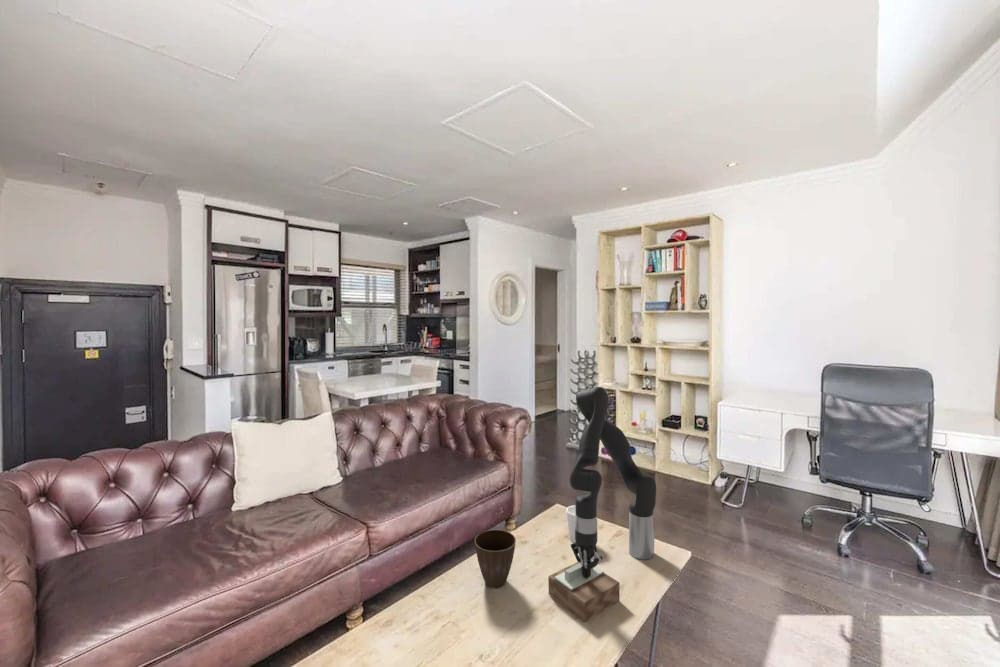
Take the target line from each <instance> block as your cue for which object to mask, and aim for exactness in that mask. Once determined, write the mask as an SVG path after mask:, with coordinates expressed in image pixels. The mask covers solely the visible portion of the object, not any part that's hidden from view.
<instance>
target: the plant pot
mask: <svg viewBox="0 0 1000 667" xmlns="http://www.w3.org/2000/svg"><path fill="white" fill-rule="evenodd" d="M516 542H517V539H516V537H515V536H514V535H513V533H511V532H509V531H508V530H503V529H488V530H484V531H482V532H480V533H479V534H477V535H476V536H475V537H474V545H475V553H476V556H477V561H478V562H477V563H478V566H479V571H480V572H481V575H482V578H483V580H484V584H485V585H486V586H487V587H488V588H490V589H501V588H502V587H503V586H505V585H506V582H507V581H508V580H507V579H508V577H509V574H510V571H511V569H512V568H511V567H512V564H513V559H514V555H515V550H516V549H515V548H516Z"/></svg>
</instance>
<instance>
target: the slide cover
mask: <svg viewBox="0 0 1000 667" xmlns="http://www.w3.org/2000/svg"><path fill="white" fill-rule="evenodd" d="M593 561H594V560H592V562H593ZM603 573H605V571H604V570H603V569H601V568H599V567H598V566H596V567H594V568H592V569H591V576H590V577H588V578H584V577H583V576H582V566H581V563H579V564H577V565H575V566H573V567H571V568H569V569H567V570H565V572H563V573H561V574H559V575H557V576H555V579H556V580H557V581H559V582H560V583H561V584H563V585H564V586H566V587H567V588H568V589H570V590H573V589H575V588H577V587H579V586H580V585H582V584H584V583H586V582H588V581H590V580H592V579H594V578H595V577H597V576H599V575H601V574H603Z"/></svg>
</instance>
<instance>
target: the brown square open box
mask: <svg viewBox="0 0 1000 667" xmlns="http://www.w3.org/2000/svg"><path fill="white" fill-rule="evenodd" d="M579 563H580V562H578V561H577V562H574V563H573V564H570V565H568V566H566V567H564V568H562V569H560V570H557V571H556V572H554V573H552V574H550V575H548V595H549V596H550V597H552V599H554V600H556V602H558V603H560V604H561V605H562V606H563V607H564V608H566V609H567V610H568V611H570V613H572V614H573V615H574V616H576V618H578V619H580V620H581V621H582V622H583V623H586V622H588V621H589V620H591V619H592V618H594V617H596V616H597V615H598V614H600V613H602V612H604V611H605V610H607V609H609V608H610V607H612V606H614V605H616V604H617V603H619V602H620V582H619V581H618V580H616V579H615V578H613V577H611V576H610V575H608V574H607V573H605V572H604V573H603V574H601V575H599V576H597V577H595V578H594V579H592V580H590V581H588V582H586V583H584V584H582V585H580V586H579V587H577V588H575V589H573V590H570V589H568V588H567V587H566V586H564V585H563V584H561V583H560V582H559V581H557V580H556V579H555V576H557V575H559V574H561V573H563V572H565V570H567V569H569V568H571V567H573V566H575V565H577V564H579Z"/></svg>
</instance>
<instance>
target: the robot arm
mask: <svg viewBox="0 0 1000 667" xmlns="http://www.w3.org/2000/svg"><path fill="white" fill-rule="evenodd" d="M575 401H576V404H577V407H578V409H579V411H580V412H581V414H582V416H583V417H584V418H585V419H586V420H587V422H588V424H587V426H586V428H585V429H584V431H583V433H582V434H581V436H580V439H579V443H578V452H577V458H576V461H575V464H574V466H573V468H572V470H571V472H570V474H569V475H570V476H569V484H570V486H571V488H572V489H573V490H575V491H580V492H581V491H583V492H589V493H587V494H581V495H578V496H577V497H576V498H575V506H576V507H575V508H576V515H575V541H576V542H575V543H573V542H572V543H570V547H571V549H572V550H571V551H572V552H573V555H574V556H575V559H576V561H577V562H580V563H581V566H582V576H583V577H584V578H588V577H590V576H591V569H592V568H594V567H598V565H599V564H600V562H602V560H603V557H602V555H599V553H598V549H597V543H598V518H597V516H598V515H597V505H598V503H597V502H598V497H599V493H600V490H601V486H602V483H603V478H602V477H603V476H602V475H601V473H600V471H598V470H595V469H586V468H587V467H593V466H595V465H597V463H598V462H599V452H600V441H601V444H602V445H603V447H604V449H605V450H606V452H607V454H608V455H609V457H610V459H611V460H612V461H613V463H614V465H615V466H616V467H617V469H618V472H619V473H620V476H621V477H622V480H623V482H624V484H625V486H626V488H627V489H628V490H629V491H630V492H631V493H633V494H634V495H635V500H633V501H631V502H630V503H629V507H628V514H629V517H628V527H629V529H628V534H629V535H628V538H629V539H628V548H629V549H628V552H629V554H630V555H631V557H633V558H635V559H638V560H650V559H651V558H653V557H654V554H655V530H654V509H655V507H656V503H657V502H656V499H657V483H656V480H655V478H653V477H652V476H651V475H649V474H647V473H646V472H643V471H642V470H641V469H640V468H639V467H638V466H637V464H636V463H635V462H634V459H633V458H632V447H631V444H630V442H629V440H628V438H627V437H626V435H625V433H624V431H622V429H620V428H619V427H618V426H616V425H615V424H614V423H612V422H610V421H608V420H607V419H606V416H607V414H608V407H609V395H608V393H607V391H606V390H605V389H604V388H603V386H597V387H596V386H595V387H591V388H587V389H582V390H580V391H577V393H576V395H575ZM592 560H593V562H592Z"/></svg>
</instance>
